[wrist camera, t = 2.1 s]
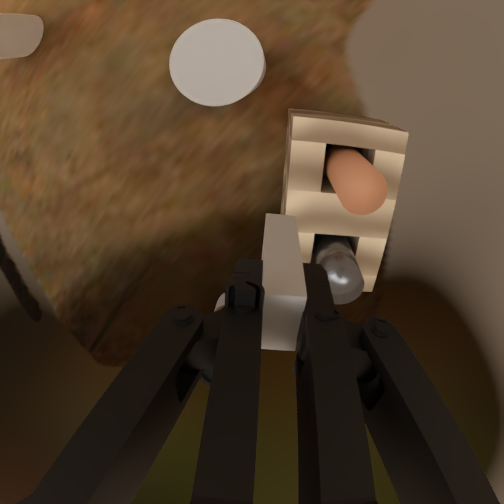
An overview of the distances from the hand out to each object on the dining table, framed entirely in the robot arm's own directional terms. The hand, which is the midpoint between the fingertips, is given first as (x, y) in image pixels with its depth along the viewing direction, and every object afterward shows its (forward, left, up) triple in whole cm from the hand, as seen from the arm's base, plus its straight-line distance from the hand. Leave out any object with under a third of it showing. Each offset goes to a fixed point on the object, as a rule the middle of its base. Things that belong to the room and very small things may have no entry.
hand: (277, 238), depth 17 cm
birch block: (+5, +8, -25) cm, 27 cm away
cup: (-10, -5, -25) cm, 28 cm away
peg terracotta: (0, +8, -19) cm, 20 cm away
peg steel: (+10, +8, -19) cm, 23 cm away
